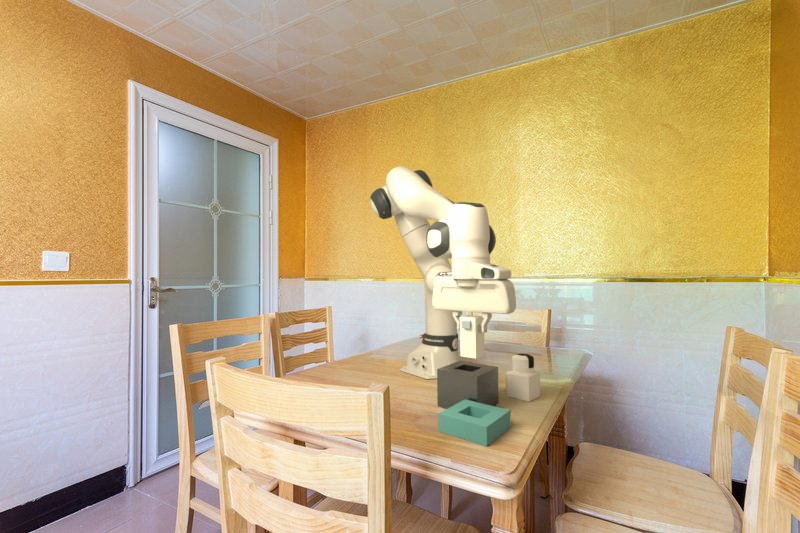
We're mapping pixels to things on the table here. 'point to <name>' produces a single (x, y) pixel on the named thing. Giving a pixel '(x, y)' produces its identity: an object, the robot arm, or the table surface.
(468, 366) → the dark grey square frame
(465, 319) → the plug
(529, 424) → the table surface
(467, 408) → the block
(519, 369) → the medicine bottle
